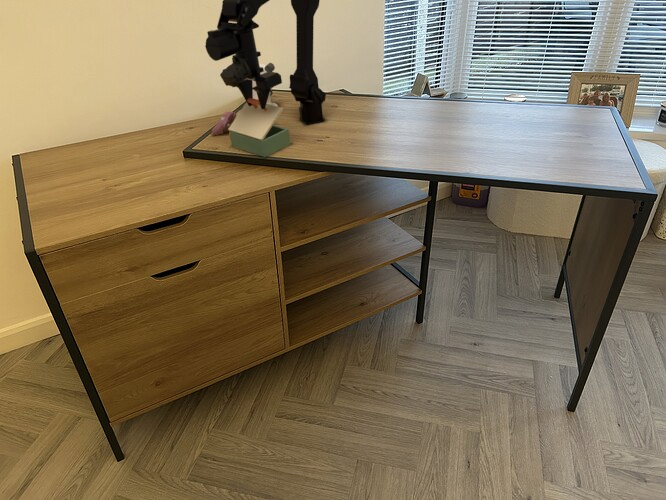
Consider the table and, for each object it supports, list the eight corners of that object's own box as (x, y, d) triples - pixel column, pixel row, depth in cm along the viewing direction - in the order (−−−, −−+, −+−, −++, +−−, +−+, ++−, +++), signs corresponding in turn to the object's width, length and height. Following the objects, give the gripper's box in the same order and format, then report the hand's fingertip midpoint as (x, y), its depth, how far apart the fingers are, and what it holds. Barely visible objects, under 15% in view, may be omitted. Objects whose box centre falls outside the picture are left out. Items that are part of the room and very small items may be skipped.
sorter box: (257, 134, 149) (255, 119, 146) (290, 144, 141) (288, 128, 138) (232, 146, 143) (228, 131, 140) (264, 157, 135) (261, 141, 132)
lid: (249, 100, 142) (240, 90, 139) (283, 109, 134) (275, 98, 130) (229, 130, 140) (219, 121, 137) (262, 141, 132) (253, 130, 128)
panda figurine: (283, 103, 171) (277, 59, 163) (273, 114, 163) (266, 68, 154) (252, 103, 174) (244, 60, 165) (240, 114, 165) (232, 69, 156)
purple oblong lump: (223, 140, 151) (228, 121, 147) (210, 134, 150) (215, 115, 146) (234, 128, 159) (240, 110, 154) (222, 122, 158) (227, 104, 154)
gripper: (199, 54, 127) (214, 111, 137) (245, 62, 117) (257, 123, 126) (231, 43, 133) (243, 98, 143) (278, 50, 123) (287, 109, 132)
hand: (256, 107), depth 136 cm, fingers closed on lid, 5 cm apart
